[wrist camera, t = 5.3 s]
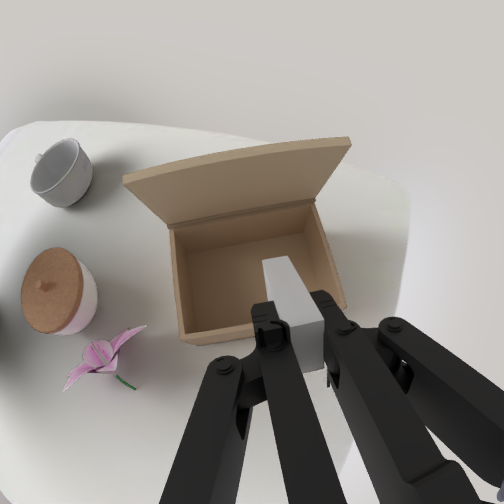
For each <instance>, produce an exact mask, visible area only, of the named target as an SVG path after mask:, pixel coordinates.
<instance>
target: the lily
mask: <svg viewBox="0 0 504 504" xmlns="http://www.w3.org/2000/svg"><path fill="white" fill-rule="evenodd" d="M146 326H147V325H143V326H139V327H136V328H134V329H131V330H129V331H128V329H129V328H128V329H125V330H124V331H122V332H121V333H119V334H118V335H117V336H115V337H114V338H113V339H112V340H111V341H110V342H108V341H106V340H96V341H93V342H92V343H90V344H89V345H88V346H87V347H86V348H85V350H84V352H83V360H84V361H85V362H83V363H81V364H80V365H78V366H77V367H76V368H74V369H73V370H72V371H71V372H70V373H69V374H68V375H67V376H66V377H68V376H70V377H69V379H68V380H67V382H66V384H65V386H64V388H63V392H64V391H65V390H67V389H68V388H69V387H70V386H71V385H72V384H73V383H74V382H75V381H76V380H77V379H79V378H80V377H81V376H82V375H84V374H85V373H107V374H113V375H114V376H116V377H117V378H118V379H119V380H120V381H121V382H122V383H124V384H125V385H127V386H128V387H130V388H132V389H133V390H136V388H134V387H133V386H131V385H129V384H128V383H126V382H125V381H123V380H122V379H121V378H120V377H119V376H118V375H117V374H116V372H115V370H116V368H117V360H118V355H119V350H120V346H121V345H122V344H123V343H124V342H125V341H126V340H128V339H129V338H131V337H132V336H133V335H135V334H136V333H138V332H139V331H141V330H142V329H144V328H145V327H146Z"/></svg>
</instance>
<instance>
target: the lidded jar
mask: <svg viewBox="0 0 504 504" xmlns="http://www.w3.org/2000/svg"><path fill="white" fill-rule="evenodd" d="M97 303H98V293H97V287H96V283H95V281H94V279H93V276H92V275H91V273H90V272H89V270H88V269H87V268H86V267H85V266H84V265H83V264H82V263H81V262H80V261H79V260H78V259H77V258H75V256H74V255H73V254H71V253H70V252H69V251H67V250H66V249H63V248H59V247H56V248H50V249H48V250H45V251H44V252H42V253H41V254H39V255H38V256H37V257H36V258H35V259H34V261H33V262H32V263H31V265H30V266H29V268H28V270H27V272H26V274H25V277H24V280H23V284H22V289H21V304H22V310H23V313H24V316H25V318H26V320H27V322H28V323H29V324H30V326H31V327H32V328H34V329H35V330H37V331H39V332H42V333H47V334H54V335H72V334H75V333H77V332H79V331H81V330H83V329H84V328H85V327H86V326H87V325H88V324H89V323H90V322H91V320H92V318H93V317H94V314H95V312H96V308H97Z"/></svg>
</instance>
